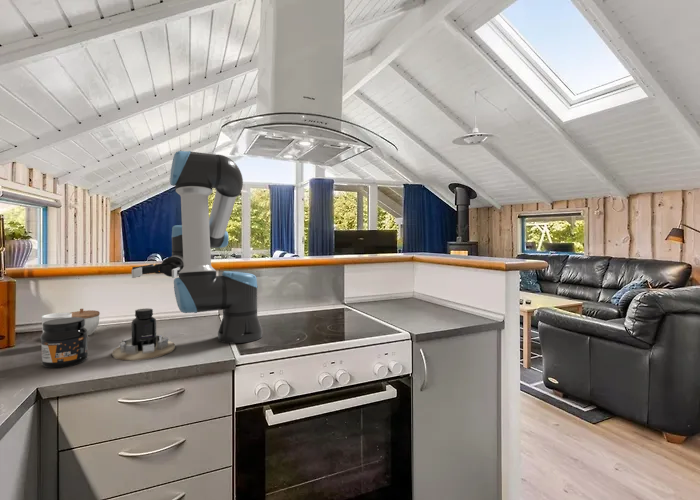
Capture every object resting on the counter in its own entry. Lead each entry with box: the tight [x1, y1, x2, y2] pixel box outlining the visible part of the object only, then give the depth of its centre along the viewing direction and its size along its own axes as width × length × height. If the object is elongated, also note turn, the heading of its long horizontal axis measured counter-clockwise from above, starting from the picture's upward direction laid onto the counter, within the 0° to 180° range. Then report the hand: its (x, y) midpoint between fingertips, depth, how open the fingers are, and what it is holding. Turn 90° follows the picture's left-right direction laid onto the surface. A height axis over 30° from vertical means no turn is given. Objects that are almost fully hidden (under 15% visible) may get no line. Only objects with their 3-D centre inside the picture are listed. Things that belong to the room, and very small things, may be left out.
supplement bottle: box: [131, 307, 157, 351], centre depth 117 cm, size 7×7×12 cm
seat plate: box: [112, 340, 176, 361], centre depth 118 cm, size 17×17×1 cm
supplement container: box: [40, 317, 89, 369], centre depth 107 cm, size 10×10×12 cm
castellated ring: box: [119, 334, 169, 355], centre depth 118 cm, size 13×13×2 cm
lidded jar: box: [70, 308, 101, 336], centre depth 137 cm, size 11×11×9 cm
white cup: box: [41, 312, 72, 333], centre depth 123 cm, size 8×8×10 cm
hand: (153, 273), depth 126 cm, fingers open, 12 cm apart
